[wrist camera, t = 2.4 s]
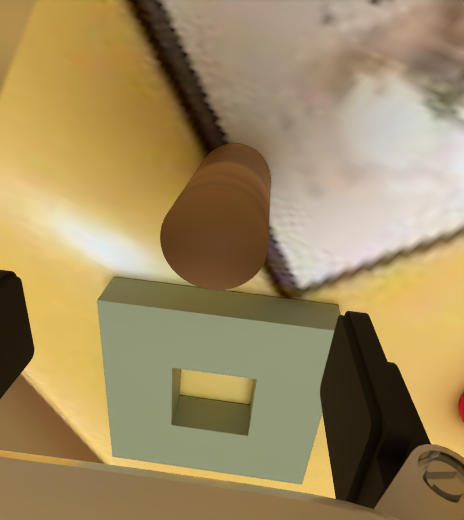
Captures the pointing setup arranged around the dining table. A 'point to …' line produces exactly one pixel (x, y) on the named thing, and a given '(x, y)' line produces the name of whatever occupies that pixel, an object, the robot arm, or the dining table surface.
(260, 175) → the walnut peg
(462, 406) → the pepper mill
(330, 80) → the dining table surface
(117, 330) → the socket board
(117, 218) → the dining table surface
